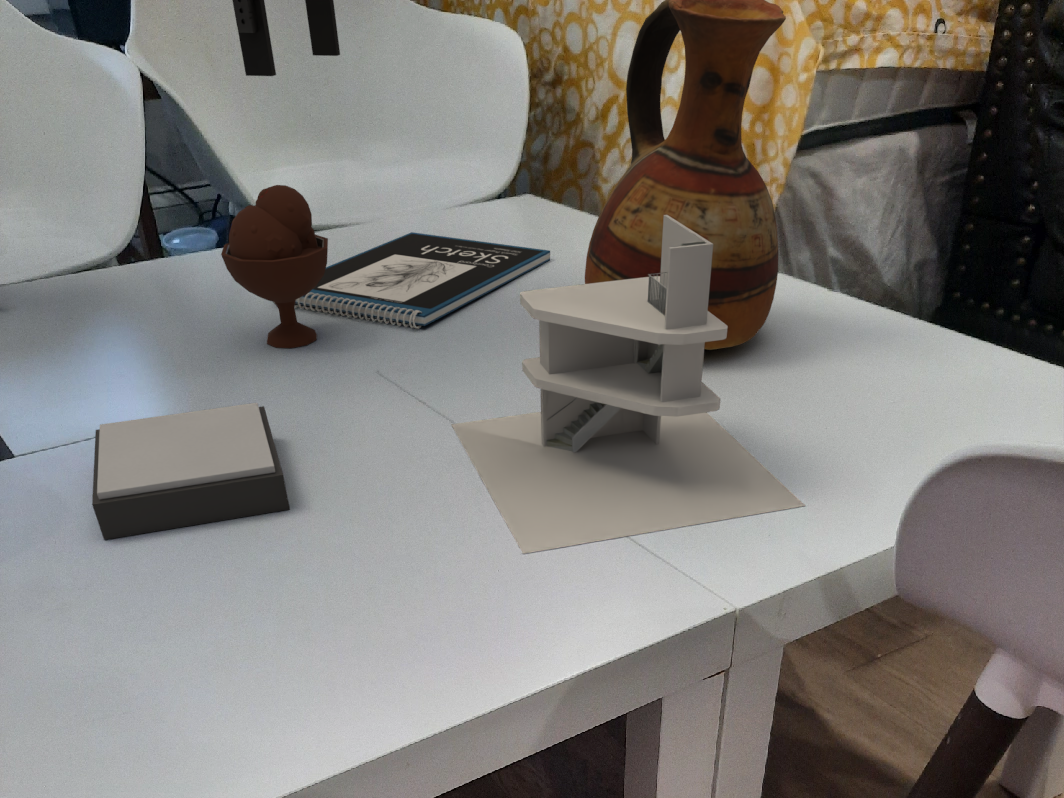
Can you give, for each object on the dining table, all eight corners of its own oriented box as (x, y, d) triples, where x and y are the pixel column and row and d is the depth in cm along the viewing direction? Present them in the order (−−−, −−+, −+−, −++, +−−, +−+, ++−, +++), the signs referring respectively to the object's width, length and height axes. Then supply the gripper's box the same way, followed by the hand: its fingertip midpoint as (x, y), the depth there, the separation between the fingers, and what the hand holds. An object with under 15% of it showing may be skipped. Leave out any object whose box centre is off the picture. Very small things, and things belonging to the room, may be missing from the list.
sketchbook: (550, 261, 130) (550, 244, 128) (420, 334, 110) (418, 314, 108) (412, 241, 138) (410, 225, 137) (267, 305, 118) (264, 287, 116)
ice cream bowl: (303, 315, 115) (278, 168, 105) (362, 338, 109) (341, 184, 99) (222, 339, 109) (188, 187, 100) (279, 365, 103) (248, 205, 93)
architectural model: (684, 391, 96) (700, 181, 84) (805, 505, 78) (846, 260, 66) (451, 424, 91) (433, 207, 80) (523, 553, 73) (513, 298, 62)
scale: (106, 462, 86) (93, 422, 84) (270, 438, 90) (262, 399, 87) (104, 540, 76) (89, 497, 74) (290, 509, 79) (281, 467, 77)
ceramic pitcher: (683, 386, 97) (710, 6, 77) (544, 334, 108) (538, -7, 89) (809, 336, 106) (861, -13, 87) (669, 293, 118) (688, -22, 99)
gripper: (211, -253, 74) (267, 86, 87) (354, -230, 92) (382, 48, 106) (123, -248, 75) (191, 84, 89) (281, -225, 94) (318, 47, 107)
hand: (295, 65), depth 97 cm, fingers open, 13 cm apart
